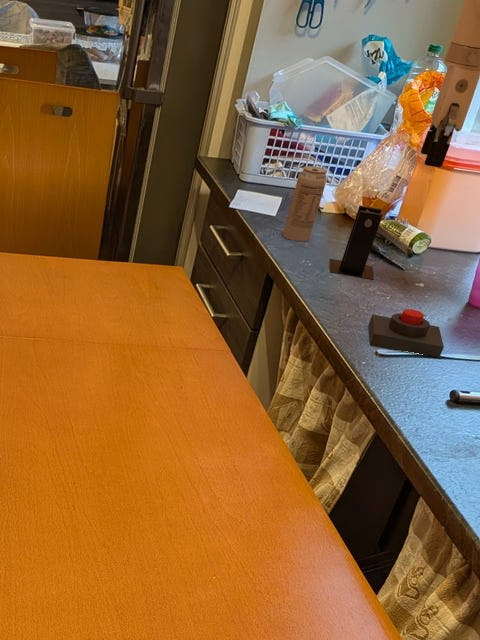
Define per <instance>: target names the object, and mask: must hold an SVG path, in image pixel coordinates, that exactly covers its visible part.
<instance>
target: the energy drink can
mask: <svg viewBox="0 0 480 640" xmlns="http://www.w3.org/2000/svg"><path fill="white" fill-rule="evenodd" d="M326 173H327V170H326V168H323V167H319V166H314V165H306V166H303V168H302V170H301V172H300V173H299V174H298V176H297V179H296V183H295V188H294V192H293V195H292V198H291V202H290V206H289V208H288V209H289V210H288V213H287V217H286V220H285V223H284V227H283V230H282V231H283V232H282V237H284V238H285V239H287V240H291V241H295V242H301V243H302V242H303V243H304V242H308V241H309V240H310V239H311V235H312V231H313V228H314V225H315V221H316V218H317V215H318V211H319V208H320V204H321V202H322V198H323V195H324V191H325V187H326V183H327V180H328V179H327V174H326Z"/></svg>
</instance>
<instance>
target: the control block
mask: <svg viewBox="0 0 480 640" xmlns="http://www.w3.org/2000/svg"><path fill="white" fill-rule="evenodd" d="M402 313H403V312H402ZM402 313H401V312H400V313H399V312H396V313H394V314H392V315H391V317H389V316H384V315H379V314H371V317H370V319H369V323H368V325H367V327H368V328H367V329H368V339H369V346H371V347H377V348H382V349H387V350H392V349H393V350H392V351H397V350H401V351H400V352H403V351H408V352H414V353H419V354H423V355H422V356H424V355H427V356H426V357H429V356H431V358H435V357H436V359H440V357H441V355H442V353H443V350H444V348H445V346H444V341H443V338H442V333H441V330H440V326H438V325H437V326H436V325H431V323H430V322H429V320H427V319H425V318H424V317H423V320H422V322H421V325H412V324H407V323H405V322H402V321H401V320H400V318H401V316H402ZM408 352H407V353H408ZM419 354H418V355H419Z"/></svg>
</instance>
